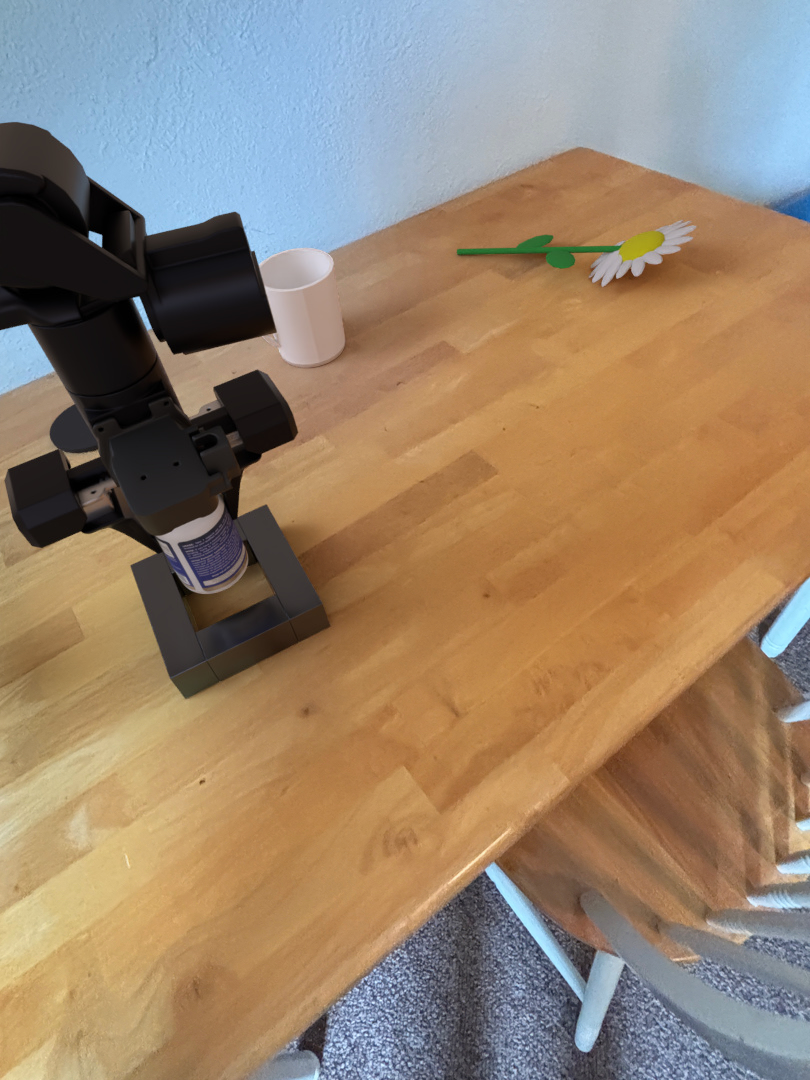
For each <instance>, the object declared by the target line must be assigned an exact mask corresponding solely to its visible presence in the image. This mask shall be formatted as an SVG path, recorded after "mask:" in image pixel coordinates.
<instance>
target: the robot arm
mask: <svg viewBox="0 0 810 1080" xmlns="http://www.w3.org/2000/svg"><path fill="white" fill-rule="evenodd" d="M146 226H147V225H146V218H145V216H144V215H142V213H140V212H139V211H138V210H136V209H134V208H133V207H132V206H130V205H129V204H128V203H126V202H125V201H123V200H122V199H121V198H119V197H118V196H117V195H115V194H114V193H112V192H110V191H109V190H108V189H106V188H105V187H104V186H102V185H101V184H100V183H98V182H97V181H95V179H93V178H91V177H90V176H88V175H87V173H86V171H85V168H84V166H83V165H82V163H81V162H80V161H79V159H78V158H77V157H76V156H75V154H74V153H73V151H72V150H71V149H70V147H68V146H66V145H65V144H64V143H63V142H61V141H60V140H59V139H57V137H55V136H54V135H52V132H51V131H49V130H48V129H45V128H42V127H40V126H38V125H35V124H32V123H25V122H20V121H9V122H0V331H5V330H9V329H12V328H16V327H21V326H24V325H25V326H26V325H27V326H28V328H29V330H30V331H31V333H32V335H33V336H34V339H35V340H36V341H37V343H38V344H39V346H40V348H41V350H42V351H43V353H44V355H45V357H46V358H47V360H48V361H49V363H50V365H51V367H52V369H53V370H54V372H55V374H56V375H57V377H58V378H59V380H60V381H61V383H62V385H63V386H64V388H65V390H66V392H67V393H68V395H69V396H70V398H71V400H72V402H73V403H74V404H75V405H76V407H77V408H78V410H79V412H80V413H81V415H82V417H83V419H84V420H85V422H86V424H87V425H88V427H89V429H90V430H91V432H92V434H93V435H94V437H95V439H96V440H97V442H98V449H97V450H98V451H97V453H98V455H99V456H98V457H96V458H92V459H91V460H88V461H86V462H83V463H80V464H79V465H76V466H72V464H71V462H70V460H69V459H68V457H67V455H66V454H65V451H62V450H60V449H58V448H57V449H54V450H52V451H50V452H47V453H44V454H42V455H40V456H37V457H35V458H31V459H29V460H27V461H24V462H22V463H19V464H17V465H14V466H12V467H9V468H7V471H6V475H5V477H4V485H5V489H6V494H7V499H8V503H9V509H10V512H11V517H12V520H13V522H14V524H15V525H16V528H17V530H18V531H19V532H20V533H21V535H22V536H23V537H24V539H25V540H26V542H28V544H30V546H31V547H35V548H39V549H44V548H46V547H48V546H50V545H53V544H55V543H58V542H60V541H62V540H64V539H67V538H69V537H71V536H74V535H76V534H78V533H82V534H85V535H92V534H94V533H96V532H99V531H103V530H106V529H110V530H111V529H112V530H114V531H116V532H119V533H121V534H123V535H125V536H127V537H129V538H130V539H133V540H134V541H136V542H138V543H139V544H141V545H142V546H144V547H146V548H148V549H149V550H151V551H152V552H154V553H155V554H156V553H157V554H160V553H162V552H163V550H162V548H161V547H160V545H159V543H158V542H157V540H156V538H155V537H154V536H161V535H165V534H167V533H170V532H172V531H173V530H174V529H175V528H177V527H180V526H182V525H184V524H186V523H189V522H191V521H193V520H195V519H198V518H203V517H206V516H208V515H210V514H212V513H213V512H214V511H215V510H216V509H217V507H218V504H219V499H218V496H217V495H218V494H221V496H222V498H223V500H224V502H225V504H226V506H227V509H228V511H229V513H230V516H231V518H232V520H235V519H237V518H238V517H239V508H240V507H239V506H240V491H241V482H242V479H243V474H244V471H245V470H246V469H247V468H248V467H250V466H252V465H254V464H256V463H259V461H260V460H261V459H262V457H263V454H265V453H267V452H270V451H271V450H274V449H276V448H279V447H281V446H283V445H286V444H288V443H291V442H293V441H294V440H295V439H296V438H297V436H298V434H299V430H298V426H297V423H296V420H295V416H294V413H293V411H292V409H291V407H290V405H289V403H288V401H287V400H286V398H285V397H284V395H283V394H282V393H281V391H280V390H279V388H278V387H277V385H276V384H275V383H274V381H273V380H272V378H271V377H270V375H269V374H268V373H265V372H264V371H262V370H260V369H254V370H253V371H250V372H247V373H245V374H242V375H240V376H238V377H235V378H232V379H230V380H227V381H224V382H222V383H220V384H217V385H214V386H213V387H212V391H213V393H214V396H215V400H213V401H210V402H208V403H206V404H203V405H202V406H201V407H200V408H199V410H198V412H197V413H195V414H194V415H192V416H188V414H186V413H185V411H184V409H183V407H182V404H181V403H180V400H179V398H178V396H177V394H176V391H175V389H174V387H173V384H172V382H171V380H170V378H169V376H168V374H167V371H166V369H165V366H164V364H163V363H162V360H161V357H160V356H159V353H158V351H157V349H156V346H155V344H154V342H153V340H152V338H151V335H150V333H149V331H148V328H147V327H146V325H145V322H144V320H143V318H142V316H141V313H140V311H139V308H138V306H137V305H136V301H135V299H134V298H139V300H140V302H141V305H142V306H143V309H144V312H145V314H146V317H147V320H148V322H149V324H150V327H151V330H152V332H153V334H154V336H155V337H156V339H157V340H158V342H159V343H164V342H166V344H167V347H168V348H169V350H170V352H171V354H172V355H174V356H175V355H179V354H183V355H185V356H187V355H191V354H196V353H199V352H200V353H201V352H204V351H208V350H212V349H216V348H221V347H225V346H228V345H232V344H237V343H240V342H244V341H249V340H252V339H257V338H262V336H265V335H269V336H270V335H273V333H277V330H276V326H275V323H274V319H273V315H272V311H271V308H270V304H269V301H268V297H267V293H266V290H265V286H264V283H263V279H262V275H261V272H260V268H259V262H258V258H257V254H256V252H255V250H252V249H251V246H250V241H249V239H248V236H247V233H246V231H245V227H244V224H243V221H242V217H241V214H240V213H239V212H237V211H230V212H226V213H222V214H218V215H215V216H213V217H210V218H209V219H207V220H204V221H203V222H200V223H196V224H191V225H187V226H183V227H178V228H174V229H170V230H165V231H162V232H157V233H152V234H148V232H147V227H146ZM90 232H91V233H94V234H98V235H100V236H101V246H100V245H99V244H98V243H95V242H94V241H93V240H91V239H90Z"/></svg>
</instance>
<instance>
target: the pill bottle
mask: <svg viewBox="0 0 810 1080" xmlns="http://www.w3.org/2000/svg"><path fill="white" fill-rule="evenodd" d="M217 496H218V499H219V504H218V507H217V509H216V510H215V511H214V512H213V513H212V514H210V515H208V516H206V517H203V518H198V519H195V520H193V521H191V522H189V523H186V524H184V525H182V526H180V527H177V528H175V529H174V530H173V531H172V532H170V533H167V534H165V535H161V536H154V537H155V538H156V540H157V542H158V543H159V545H160V547H161V548H162V550H163V552H164V553H165V555H166V557H167V558H168V560H169V562H170V564H171V565H172V567H173V568H174V570H175V572H176V573H177V575H178V577H179V579H180V580H181V581H182V583H183V584H184V585H185V586H186V587H187V588H188V589H190V590H191V591H193V593H196V594H200V595H201V594H203V595H211V594H217V593H220V592H223V591H225V590H228V589H229V588H231V587H233V586H234V585H235V584H236V583H237V582H239V580H240V579H241V578H242V577H243V575H244V574H245V573H246V570H247V569H248V567H247V565H248V554H247V551H246V548H245V546H244V543H243V541H242V539H241V537H240V535H239V533H238V530H237V528H236V526H235V524H234V521H233V520H232V518H231V516H230V513H229V511H228V509H227V506H226V504H225V502H224V500H223V498H222V496H221V494H218V495H217Z"/></svg>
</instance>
